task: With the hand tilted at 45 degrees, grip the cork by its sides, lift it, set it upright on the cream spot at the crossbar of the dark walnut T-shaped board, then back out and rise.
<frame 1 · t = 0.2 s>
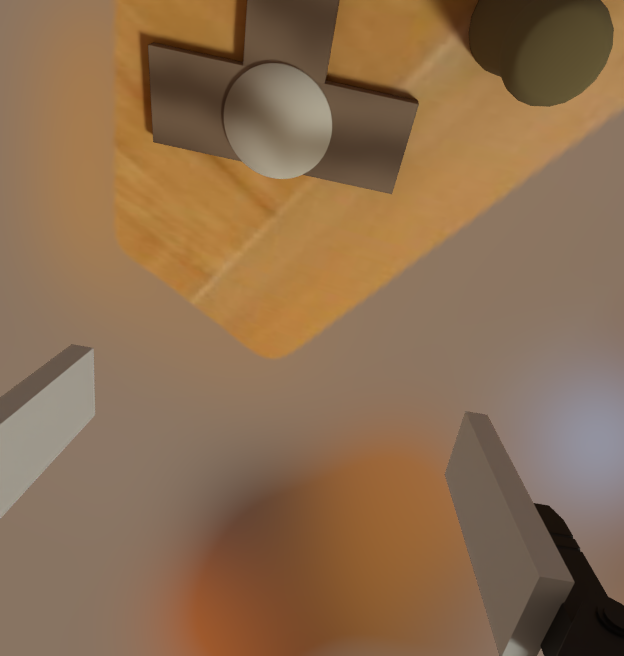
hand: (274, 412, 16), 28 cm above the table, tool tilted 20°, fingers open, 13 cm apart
walnut T board: (280, 120, 37), on the table
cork: (515, 25, 31), on the table
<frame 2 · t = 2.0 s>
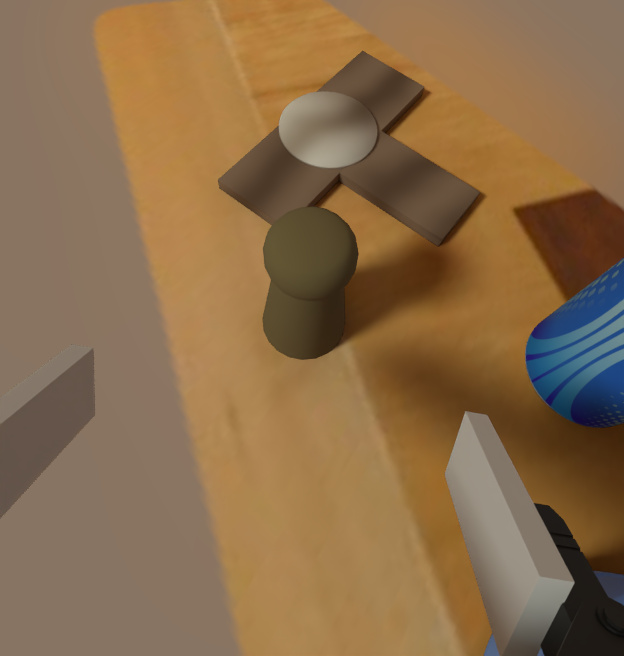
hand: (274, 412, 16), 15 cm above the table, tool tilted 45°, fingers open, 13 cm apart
walnut T board: (326, 139, 41), on the table
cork: (303, 321, 34), on the table
beer can: (572, 373, 34), on the table
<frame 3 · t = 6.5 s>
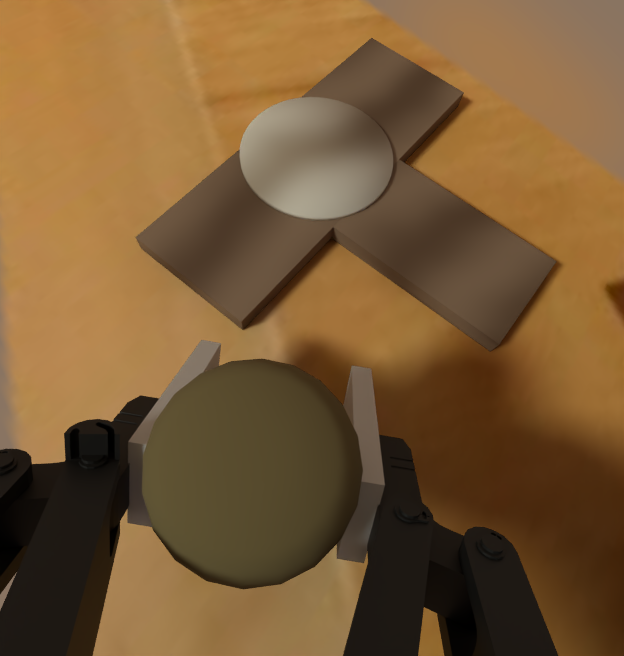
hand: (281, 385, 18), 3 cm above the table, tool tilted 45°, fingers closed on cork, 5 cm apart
walnut T board: (315, 170, 27), on the table
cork: (265, 490, 20), on the table, touching gripper
when the fingers open (6 cm above the table, at t = 11.5 s): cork drops 2 cm, resting on walnut T board.
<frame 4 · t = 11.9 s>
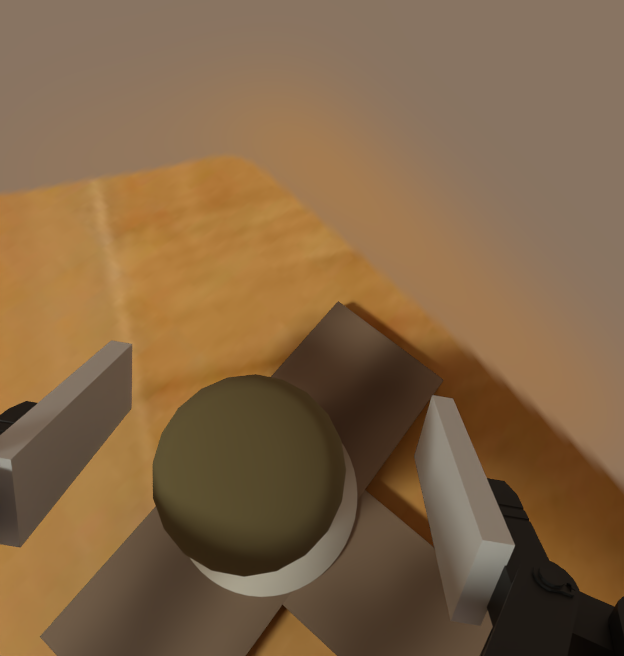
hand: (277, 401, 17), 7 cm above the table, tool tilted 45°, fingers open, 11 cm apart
walnut T board: (267, 493, 23), on the table
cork: (260, 492, 21), point 1 cm above the table, touching walnut T board
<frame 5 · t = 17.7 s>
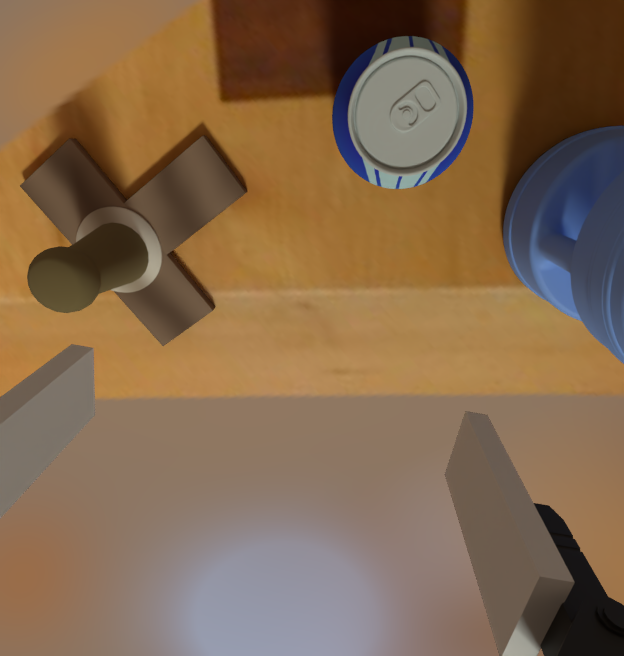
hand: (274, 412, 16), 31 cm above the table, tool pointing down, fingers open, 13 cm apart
water jug: (586, 219, 43), on the table
walnut T board: (124, 248, 46), on the table
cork: (119, 253, 45), point 1 cm above the table, touching walnut T board
beer can: (383, 124, 41), on the table
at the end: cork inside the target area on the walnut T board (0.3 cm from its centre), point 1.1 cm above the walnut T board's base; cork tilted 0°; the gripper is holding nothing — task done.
